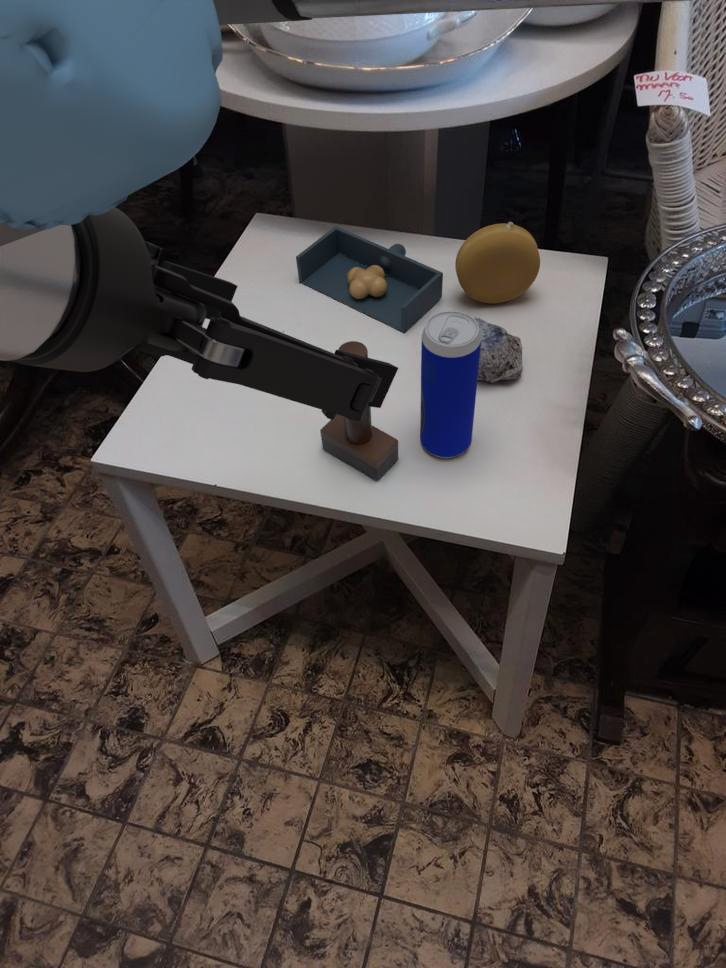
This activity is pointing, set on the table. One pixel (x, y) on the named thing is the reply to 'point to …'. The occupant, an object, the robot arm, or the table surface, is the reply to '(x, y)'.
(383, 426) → the table surface
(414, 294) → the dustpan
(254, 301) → the table surface
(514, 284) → the tan flat oval
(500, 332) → the mineral specimen
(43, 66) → the robot arm
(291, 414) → the table surface
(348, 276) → the tan lobed cluster
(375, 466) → the brush
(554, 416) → the table surface
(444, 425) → the beverage can
